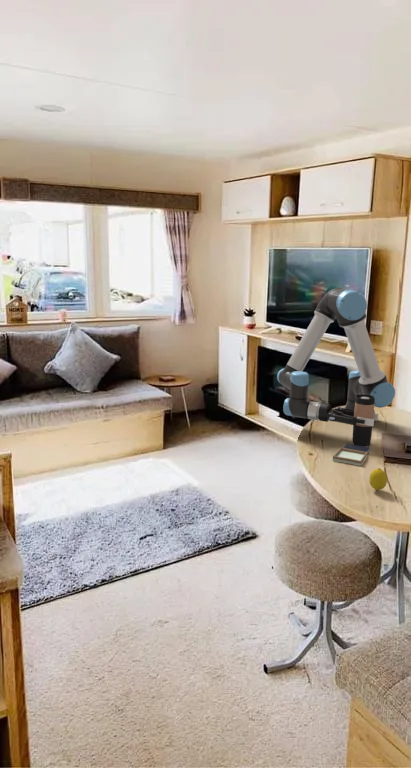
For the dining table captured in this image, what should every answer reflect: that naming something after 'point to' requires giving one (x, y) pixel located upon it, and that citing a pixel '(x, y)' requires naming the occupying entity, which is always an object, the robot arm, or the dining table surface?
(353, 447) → the ink pad
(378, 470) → the lemon
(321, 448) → the dining table surface
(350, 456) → the box
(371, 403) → the travel mug
